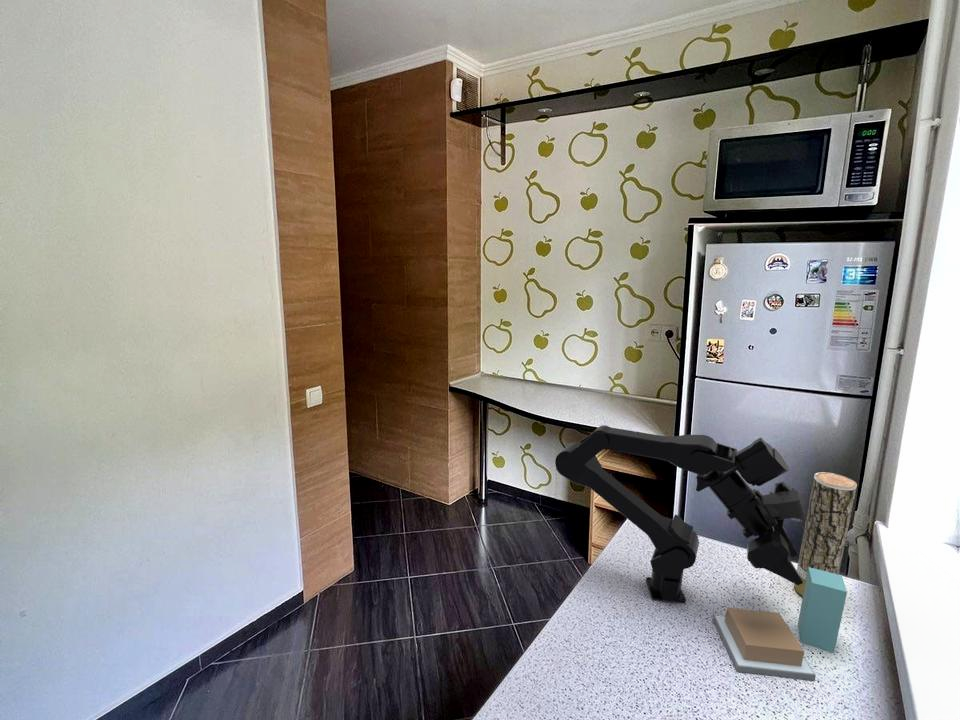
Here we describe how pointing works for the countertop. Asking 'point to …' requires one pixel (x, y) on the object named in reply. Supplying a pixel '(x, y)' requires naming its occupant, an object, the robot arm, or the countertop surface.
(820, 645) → the teal block
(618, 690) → the countertop surface
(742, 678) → the countertop surface
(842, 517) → the wooden log
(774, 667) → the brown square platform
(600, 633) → the countertop surface
